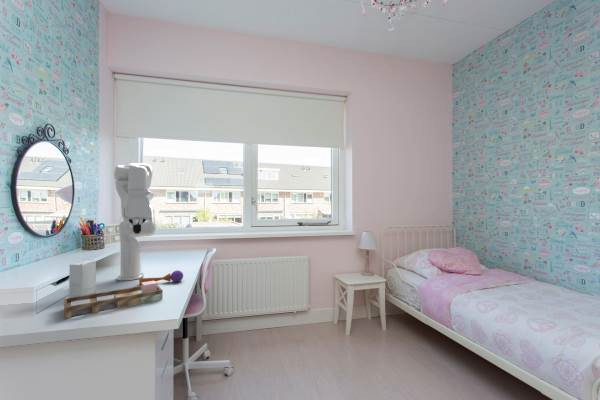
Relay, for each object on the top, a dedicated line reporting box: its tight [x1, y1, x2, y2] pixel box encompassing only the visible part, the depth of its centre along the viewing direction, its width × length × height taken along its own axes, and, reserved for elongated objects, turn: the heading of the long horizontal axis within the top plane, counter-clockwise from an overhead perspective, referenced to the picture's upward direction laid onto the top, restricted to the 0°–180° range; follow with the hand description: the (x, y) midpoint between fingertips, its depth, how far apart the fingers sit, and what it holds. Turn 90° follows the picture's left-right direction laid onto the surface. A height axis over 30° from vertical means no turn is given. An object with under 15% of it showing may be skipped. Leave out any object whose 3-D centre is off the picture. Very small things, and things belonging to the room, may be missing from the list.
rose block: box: [140, 281, 158, 293], centre depth 119 cm, size 5×5×4 cm
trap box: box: [63, 284, 163, 320], centre depth 112 cm, size 32×12×4 cm, turn 130°
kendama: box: [138, 270, 184, 286], centre depth 141 cm, size 6×6×20 cm
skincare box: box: [68, 259, 97, 298], centre depth 121 cm, size 8×6×15 cm
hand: (137, 233), depth 126 cm, fingers closed
